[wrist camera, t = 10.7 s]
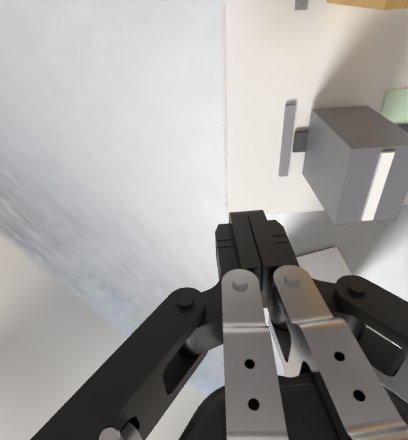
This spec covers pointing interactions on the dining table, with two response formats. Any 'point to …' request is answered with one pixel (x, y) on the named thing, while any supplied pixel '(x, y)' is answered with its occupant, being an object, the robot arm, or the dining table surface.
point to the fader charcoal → (356, 164)
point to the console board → (300, 89)
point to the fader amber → (373, 4)
